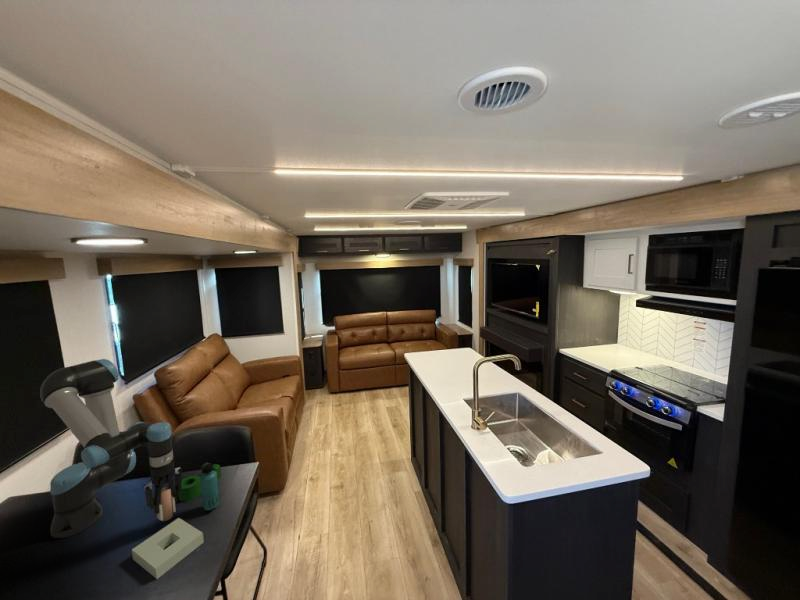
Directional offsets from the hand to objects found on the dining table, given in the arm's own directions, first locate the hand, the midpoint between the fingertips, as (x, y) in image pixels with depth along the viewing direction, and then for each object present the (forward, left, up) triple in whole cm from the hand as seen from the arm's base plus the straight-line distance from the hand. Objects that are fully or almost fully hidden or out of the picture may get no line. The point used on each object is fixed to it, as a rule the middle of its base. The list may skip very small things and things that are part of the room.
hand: (166, 514), depth 130 cm
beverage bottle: (+7, +14, -5) cm, 17 cm away
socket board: (+13, -6, -5) cm, 15 cm away
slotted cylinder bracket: (-11, +19, -6) cm, 23 cm away
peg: (0, 0, -1) cm, 1 cm away
